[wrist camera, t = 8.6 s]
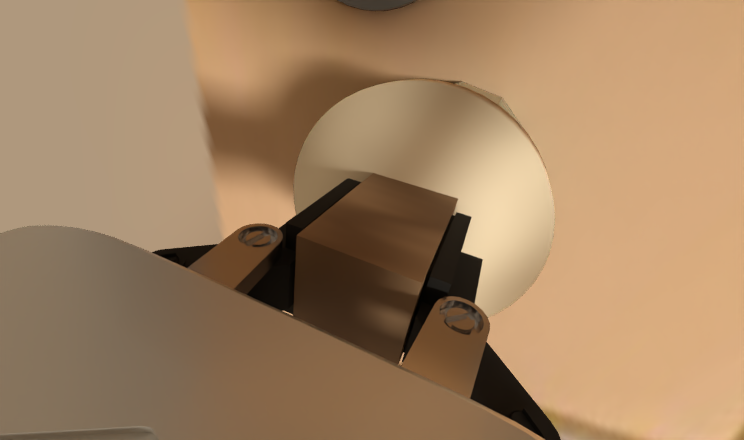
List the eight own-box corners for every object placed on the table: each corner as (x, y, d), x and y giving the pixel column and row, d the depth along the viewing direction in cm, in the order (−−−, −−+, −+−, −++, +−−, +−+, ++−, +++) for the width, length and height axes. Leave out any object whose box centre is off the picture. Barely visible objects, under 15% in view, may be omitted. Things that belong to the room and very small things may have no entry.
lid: (610, 116, 10) (711, 187, 5) (494, 340, 15) (481, 494, 10) (316, 54, 12) (168, 54, 7) (303, 263, 17) (212, 352, 12)
